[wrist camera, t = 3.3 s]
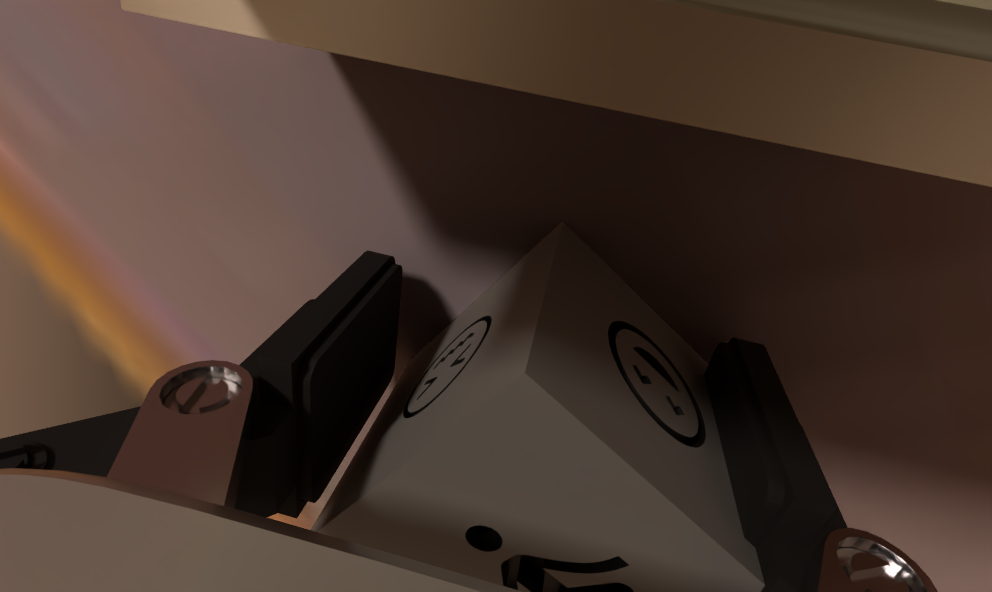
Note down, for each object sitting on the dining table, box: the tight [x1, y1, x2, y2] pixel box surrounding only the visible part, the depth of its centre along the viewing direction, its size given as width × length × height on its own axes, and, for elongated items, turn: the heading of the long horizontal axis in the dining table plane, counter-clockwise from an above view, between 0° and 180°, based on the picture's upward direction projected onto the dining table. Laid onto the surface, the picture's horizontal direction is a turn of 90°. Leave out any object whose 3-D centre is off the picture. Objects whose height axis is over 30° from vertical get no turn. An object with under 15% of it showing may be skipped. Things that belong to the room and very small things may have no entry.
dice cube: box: [311, 221, 765, 592], centre depth 10 cm, size 5×5×5 cm
